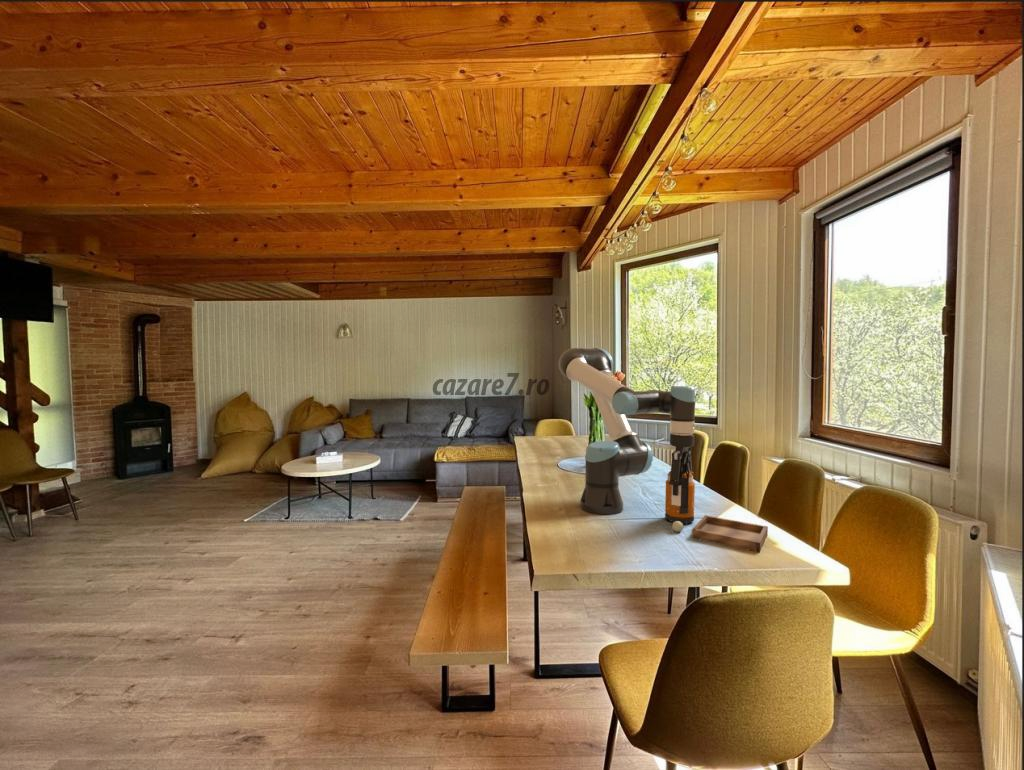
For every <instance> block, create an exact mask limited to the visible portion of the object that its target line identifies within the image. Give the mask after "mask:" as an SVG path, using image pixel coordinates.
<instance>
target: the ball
mask: <svg viewBox="0 0 1024 770" xmlns="http://www.w3.org/2000/svg"><path fill="white" fill-rule="evenodd" d="M671 527H672V529H673V531H675V532H677V533H679V532H680V533H681V532H682V531H683V529H684V524H682V523H681V522H679V521H675V522H672V526H671Z"/></svg>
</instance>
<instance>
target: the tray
mask: <svg viewBox="0 0 1024 770" xmlns="http://www.w3.org/2000/svg"><path fill="white" fill-rule="evenodd" d="M768 529H769V527H768V526H767V525H761V524H757V523H751V522H745V521H738V520H733V519H728V518H723V517H718V516H711V515H706V514H705V515H704V516H703V517H702V518H701V519H700V520H699V521H698V523H697V524H696V525H694V527H693V528H692V529H691V538H692V539H694V538H695V539H696V540H699V539H701V540H700V541H704V540H705V541H704V542H709V541H710V543H713V542H715V543H714V544H718V543H719V545H724V546H729V547H732V546H733V548H737V549H742V550H747V549H748V550H747V551H751V550H752V552H756V551H757V553H760V552H761V551H762V548H763V547H764V544H765V541H766V540H765V539H767V538H768V533H769V531H768ZM695 539H694V540H695Z"/></svg>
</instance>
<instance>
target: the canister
mask: <svg viewBox="0 0 1024 770" xmlns="http://www.w3.org/2000/svg"><path fill="white" fill-rule="evenodd" d="M687 471H688V472H687ZM690 472H691V473H690ZM670 474H671V470H670V471H668V473H667V479H666V480H665V500H664V501H665V504H664V505H665V508H664V510H665V511H664V512H665V513H664V518H665V519H666V520H668V521H670V522H671V523H674V522H675V521H679V522H681V523H682V524H683V525H684V524H685V525H686V524H689V523H692V522H694V521H695V516H694V515H695V491H696V490H695V489H696V487H695V486H696V484H695V482H694V475H693V474H694V472H693V470H692V471H690V470H689V469H688V466H687V463H685V465H684V466H683V470H682V469H681V482H680V485H681V506H677V505H671V503H672V485H670V484H669V482H670ZM674 481H676V480H674Z"/></svg>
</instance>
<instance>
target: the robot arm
mask: <svg viewBox="0 0 1024 770" xmlns="http://www.w3.org/2000/svg"><path fill="white" fill-rule="evenodd" d="M613 365H614V360H613V357H612V355H611V354H610V352H609V351H607V350H606V349H602V348H599V347H593V348H585V347H582V348H581V347H580V348H579V347H572V348H569V349H566V350H565V351H563V353H562V354H561V355H560V357H559V360H558V369H559V371H560V373H561V374H562V376H564V377H565V378H567V379H568V380H570V381H571V382H577V383H579V384H580V385H582V386H584V387H585V388H587V389H588V390H590V391H591V392H592V396H593V398H594V400H595V404H596V406H597V409H598V411H599V413H600V417H601V418H602V421H603V423H604V426H605V428H606V430H607V431H606V432H607V433H608V436H609V438H610V440H604V441H603V440H599V441H594V442H591V443H589V444H588V445H586V449H585V455H584V459H585V473H584V474H585V476H584V477H585V478H584V479H585V481H584V482H585V484H584V485H585V486H584V489H583V491H582V495H581V497H580V502H579V507H580V509H581V510H583V511H584V512H587V513H590V514H596V515H597V514H598V515H614V514H619V513H621V512H622V511H624V502H623V501H624V500H623V498H622V495H621V492H620V488H619V478H620V477H626V476H638V475H640V474H645V473H646V472H648V471H649V470H650V468H651V466H652V463H653V461H654V457H653V456H654V453H653V450H652V447H651V446H650V444H648V443H646V441H642V440H641V439H640V438H641V437H640V436H639V434H638V433H636V432H635V431H633V430H632V427H631V425H630V423H629V421H628V418H627V416H631V415H642V414H644V415H645V414H657V413H659V414H668V415H669V417H670V419H669V432H670V434H669V445H670V446H672V447H675V448H674V449H675V451H674V452H672V453H671V465H670V471H671V474H670V482H669V484H670V485H672V503H671V505H677V506H681V485H680V482H681V469H682V470H683V466H684V465H685V463H687V466H688V469H689V470H690V471H692V472H693V467H692V447H694V446H695V435H694V434H695V428H696V427H697V424H696V423H695V421H696V420H695V419H696V418H695V416H696V415H695V413H696V412H695V411H696V392H695V391H696V390H695V387H694V386H690V385H689V386H688V385H685V386H684V385H674V386H671V387H670V391H666V390H657V389H650V390H644V391H643V390H641V391H637V390H636V391H635V390H632V389H631V388H630V387H628V386H625V385H624V384H622V382H621V383H620V382H619V381H617V380H615V379H614V378H612V375H613V373H612V372H613V370H614V366H613ZM687 472H688V471H687ZM690 473H691V472H690ZM674 480H676V481H674Z"/></svg>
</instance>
